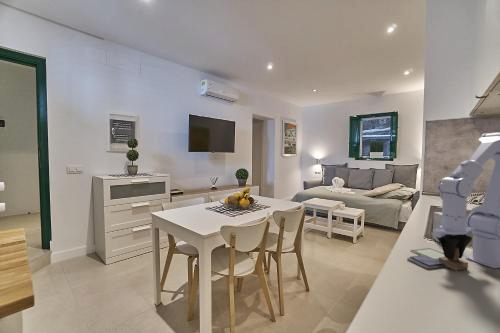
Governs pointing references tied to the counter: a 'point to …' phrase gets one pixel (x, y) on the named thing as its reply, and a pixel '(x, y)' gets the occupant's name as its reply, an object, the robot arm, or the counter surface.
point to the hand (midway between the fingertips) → (453, 257)
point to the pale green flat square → (429, 253)
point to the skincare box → (437, 222)
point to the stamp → (454, 262)
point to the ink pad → (425, 262)
